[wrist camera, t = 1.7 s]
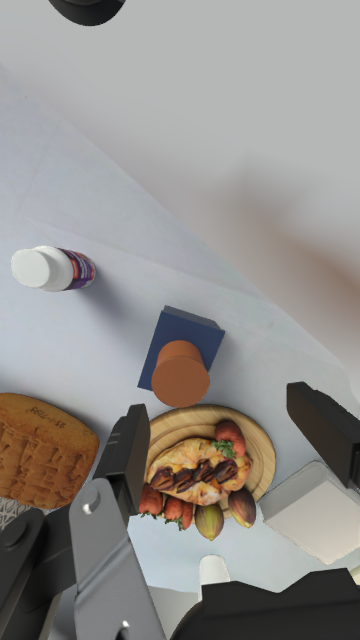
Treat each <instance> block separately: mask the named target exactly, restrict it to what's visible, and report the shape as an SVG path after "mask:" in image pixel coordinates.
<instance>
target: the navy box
mask: <svg viewBox="0 0 360 640" xmlns="http://www.w3.org/2000/svg"><path fill="white" fill-rule="evenodd" d="M224 334H225V331H224V330H221V329H220V328H219V326H218V325H217V324H216V322H215V321H212V320H209V319H206V318H203V317H200V316H197V315H194V314H191V313H188V312H185V311H182V310H179V309H175V308H172V307H169V306H166V305H165V307H164V310H163V311H161V314H160V317H159V320H158V323H157V326H156V329H155V333H154V336H153V339H152V342H151V345H150V348H149V351H148V355H147V358H146V361H145V364H144V367H143V370H142V374H141V377H140V380H139V383H138V386H137V387H139V388H143V389H146V390H150V391H153V389H152V383H151V382H152V376H153V372H154V370H155V368H156V363H157V359H158V355H159V352H160V351H161V349H162V348H163V347H164V346H165V345H166V344H168V343H170V342H172V341H177V340H183V341H187V342H190V343H192V344H193V345H195V346H196V347H197V348H198V350H199V351H200V354H201V357H202V360H203V363H204V367H205V368H206V370H207V373H208V372H209V370H210V367H211V365H212V363H213V360H214V358H215V356H216V353H217V351H218V348H219V346H220V344H221V341H222V339H223V337H224Z"/></svg>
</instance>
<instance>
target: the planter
mask: <svg viewBox="0 0 360 640" xmlns="http://www.w3.org/2000/svg"><path fill="white" fill-rule="evenodd" d="M32 508H36V507H34V506H30V505H21V504H19V501H18V500H15V499H6V498H3V497H0V533H1V532H2V530H3V529H4V528H5V527H6V526H7V525H8V524H9V523H10V522H11V521H12V520H13V519H14V518H16V517H17V516H18V515H20V514H21V513H23V512H25V511H26V510H29V509H32ZM37 508H38V507H37ZM39 509H41V508H39ZM41 510H42V511H43V513H44V515H47V514H48V513H49V511H50V509H41Z"/></svg>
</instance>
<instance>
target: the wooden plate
mask: <svg viewBox="0 0 360 640" xmlns="http://www.w3.org/2000/svg"><path fill="white" fill-rule="evenodd" d="M149 423H150V428H151V437H150V444H149V450H148V456H147V462H146V469H145V475H144V481H143V487H142V494H141V500H140V506H139V512H138V513H139V514H141V513H143V515H142V516H141V518H142V517H144V516H145V514H147V515H150V514H151V515H152V516H153V518H154V519H157V518H156V515H157V516H159V517H161V518H164V519H166V521H165V524H167V523H169V522H176V523H177V522H178V526H179V531H182V530H181V529H183V530H185V529H187V528H188V527H189V526H190V524H195V525H196V527H197V529H198V531H199V532H200V534H201V535H203V536H204V537H205V538H207V539H209V540H210V541H213V540H214V538H216V537H217V536H218V535H219V534H220V532H221V530H222V528H223V525H224V519H227V518H229V517H232V516H233V517H234V519H235V520H236V521H237V522H238V523H239V524H240V525H241V526H244V527H246V528H250V527H251V526H252V525H253V524H254V522H255V520H256V505H255V502H256V501H257V500H259V499H260V498H261V496H262V495H263V494H264V493H265V492H266V490H267V489H268V487H269V486H270V484H271V482H272V479H273V476H274V472H275V467H276V456H275V451H274V447H273V444H272V442H271V440H270V438H269V436H268V435H267V433H266V432H265V431H264V429H263V428H262V427H261V426H260V425H259V424H258V423H256V422H255V421H254V420H253V419H251V418H250V417H248V416H246V415H245V414H243V413H240V412H238V411H236V410H233V409H230V408H226V407H222V406H217V405H191V406H188V407H182V408H176V409H173V410H170V411H168V412H165V413H163V414H161V415H159V416H157V417H155V418H154V419H152V420H151V421H149Z"/></svg>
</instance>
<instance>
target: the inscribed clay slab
mask: <svg viewBox="0 0 360 640" xmlns="http://www.w3.org/2000/svg"><path fill="white" fill-rule="evenodd" d="M98 447H99V438H98V437H97V436H96V434H95V433H94V432H92V431H91V430H90V429H89V428H88V427H87V426H86V425H85V424H83V423H82V422H80V421H79V420H77V419H76V418H74V417H73V416H71V415H69V414H67V413H65V412H63V411H62V410H60V409H58V408H56V407H54V406H52V405H50V404H48V403H45V402H42V401H39V400H37V399H34V398H31V397H28V396H24V395H21V394H15V393H0V497H3V498H6V499H15V500H18V501H19V504H21V505H30V506H34V507H36V508H37V507H38V508H41V509H57V508H58V507H63V506H65V505H67V504H69V503H71V502H72V501H73V499H74V498H75V496H76V495H77V493H78V492H79V491H80V489H81V488H82V486H83V484H84V482H85V480H86V478H87V476H88V474H89V472H90V470H91V468H92V465H93V463H94V461H95V458H96V454H97V451H98Z"/></svg>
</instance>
